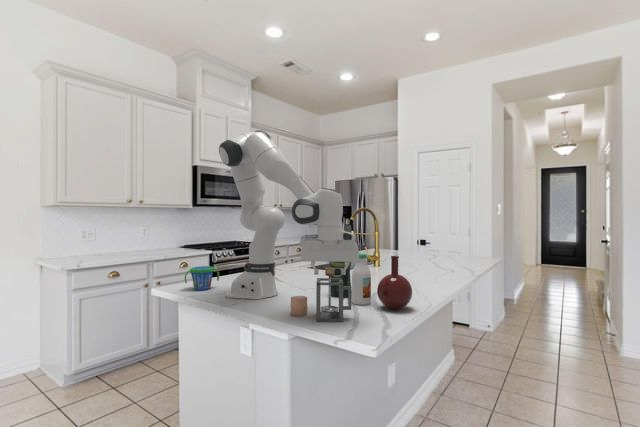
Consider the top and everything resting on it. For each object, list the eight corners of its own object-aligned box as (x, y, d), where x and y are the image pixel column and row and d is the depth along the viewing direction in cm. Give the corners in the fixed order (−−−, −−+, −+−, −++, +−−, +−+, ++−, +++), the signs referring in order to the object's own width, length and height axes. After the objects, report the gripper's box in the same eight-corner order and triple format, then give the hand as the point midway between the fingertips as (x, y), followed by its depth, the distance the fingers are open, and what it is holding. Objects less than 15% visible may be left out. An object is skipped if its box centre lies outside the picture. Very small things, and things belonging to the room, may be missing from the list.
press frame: (316, 321, 121) (316, 283, 121) (317, 314, 130) (317, 278, 130) (352, 322, 121) (352, 283, 121) (350, 314, 130) (350, 278, 130)
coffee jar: (353, 294, 161) (354, 253, 161) (347, 298, 154) (347, 255, 154) (333, 292, 165) (334, 252, 165) (326, 296, 158) (326, 253, 158)
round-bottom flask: (403, 315, 129) (403, 259, 129) (370, 309, 137) (371, 256, 137) (417, 307, 139) (417, 256, 139) (386, 302, 147) (386, 253, 147)
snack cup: (184, 292, 163) (185, 270, 163) (184, 288, 172) (184, 266, 172) (220, 290, 169) (220, 268, 169) (217, 285, 178) (218, 265, 178)
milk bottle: (355, 306, 141) (356, 255, 141) (348, 301, 149) (349, 253, 149) (373, 304, 144) (374, 254, 143) (366, 300, 151) (366, 252, 151)
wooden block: (289, 316, 127) (289, 299, 127) (291, 312, 133) (291, 295, 133) (306, 316, 127) (306, 299, 126) (307, 312, 133) (307, 295, 132)
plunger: (320, 312, 122) (321, 269, 122) (321, 307, 128) (321, 266, 128) (338, 312, 122) (338, 269, 122) (337, 308, 128) (338, 267, 128)
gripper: (299, 235, 122) (299, 275, 122) (359, 235, 122) (359, 276, 122) (300, 234, 129) (300, 272, 129) (358, 234, 128) (358, 273, 128)
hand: (329, 274), depth 125 cm, fingers open, 8 cm apart
